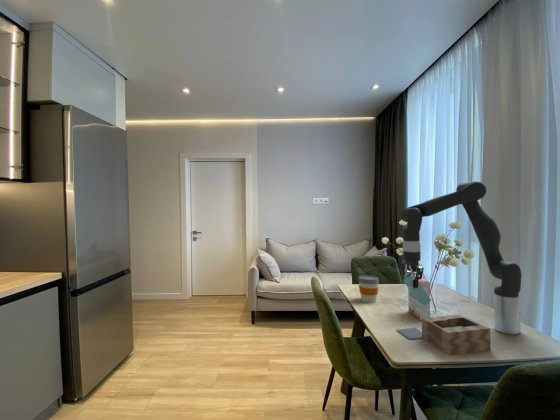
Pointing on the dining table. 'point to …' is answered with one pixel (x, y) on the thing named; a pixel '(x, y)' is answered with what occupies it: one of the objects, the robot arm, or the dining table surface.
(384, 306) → the dining table surface
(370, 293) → the reusable coffee cup
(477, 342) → the board
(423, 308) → the cracker box
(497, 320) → the robot arm
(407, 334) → the grey mat
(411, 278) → the teal block
